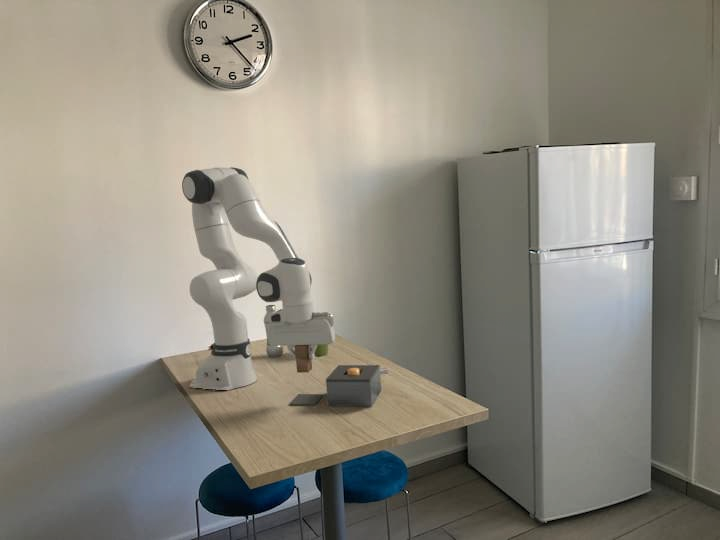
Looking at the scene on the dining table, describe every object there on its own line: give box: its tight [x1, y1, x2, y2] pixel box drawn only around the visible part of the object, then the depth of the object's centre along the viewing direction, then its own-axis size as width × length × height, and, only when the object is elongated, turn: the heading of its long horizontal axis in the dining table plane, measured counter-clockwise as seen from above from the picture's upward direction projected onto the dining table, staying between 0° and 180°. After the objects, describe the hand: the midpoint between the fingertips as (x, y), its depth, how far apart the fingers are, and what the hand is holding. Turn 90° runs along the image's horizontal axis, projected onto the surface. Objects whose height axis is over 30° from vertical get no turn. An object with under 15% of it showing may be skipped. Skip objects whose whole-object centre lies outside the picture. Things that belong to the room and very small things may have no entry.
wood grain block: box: [293, 345, 313, 374], centre depth 167 cm, size 4×4×8 cm
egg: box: [347, 368, 360, 375], centre depth 168 cm, size 4×4×6 cm
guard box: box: [325, 364, 382, 408], centre depth 168 cm, size 13×13×8 cm
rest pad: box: [288, 393, 324, 407], centre depth 170 cm, size 8×8×1 cm
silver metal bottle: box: [263, 304, 284, 358], centre depth 220 cm, size 6×7×20 cm
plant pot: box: [310, 344, 329, 357], centre depth 218 cm, size 12×12×11 cm
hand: (303, 359), depth 168 cm, fingers closed on wood grain block, 3 cm apart
